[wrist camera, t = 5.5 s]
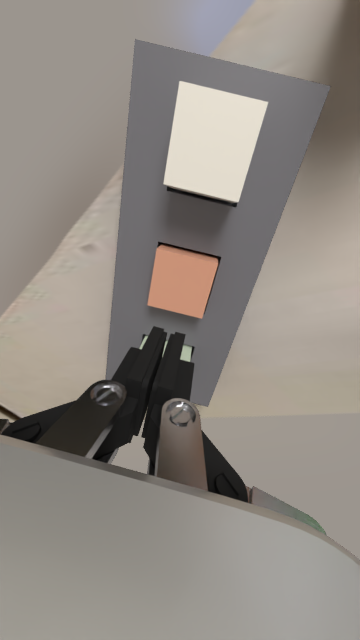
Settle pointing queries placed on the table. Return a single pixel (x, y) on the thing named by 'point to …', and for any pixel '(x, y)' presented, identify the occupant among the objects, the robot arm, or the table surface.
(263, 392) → the table surface
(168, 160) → the cream key
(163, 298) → the terracotta key
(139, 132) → the key console
